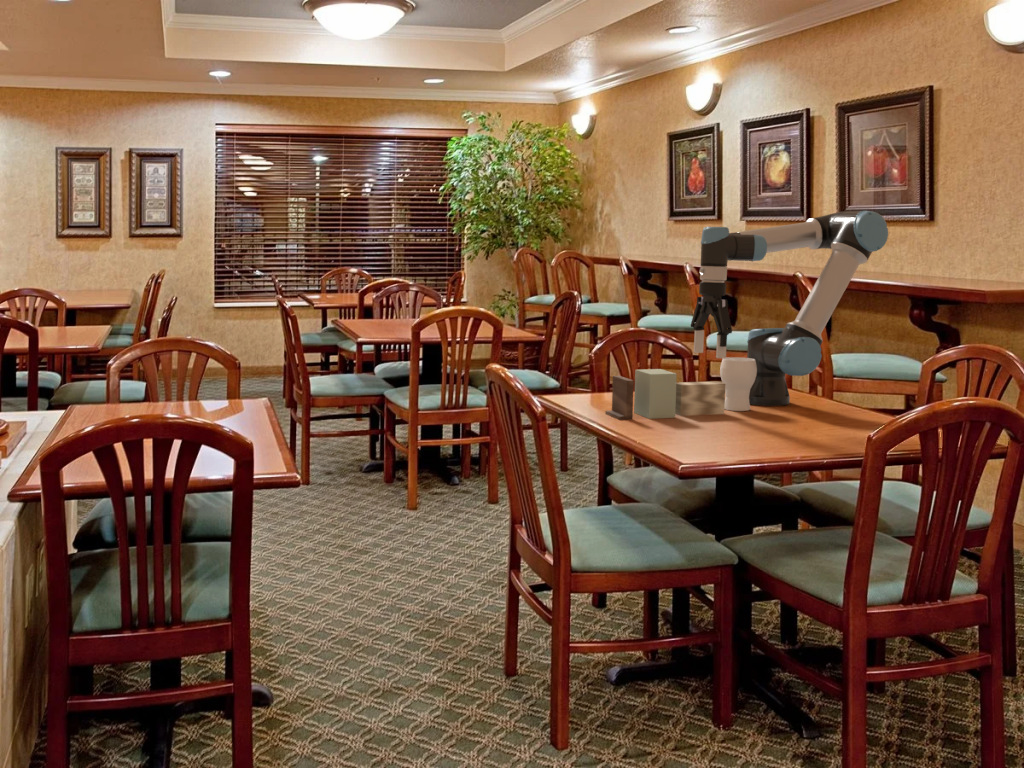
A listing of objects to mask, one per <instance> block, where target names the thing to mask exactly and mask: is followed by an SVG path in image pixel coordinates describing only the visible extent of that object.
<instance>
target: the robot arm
mask: <svg viewBox="0 0 1024 768" xmlns="http://www.w3.org/2000/svg"><path fill="white" fill-rule="evenodd" d="M888 237H889V229H888V224H887V222H886V220H885V218H884V217H883V215H881V214H880V213H878V212H876V211H872V210H871V211H870V210H860V211H858V210H857V211H837V212H833V213H830V214H825V215H821V216H817V217H812V218H807V220H806V221H805V222H799V223H791V224H784V225H779V226H778V225H777V226H772V227H771V226H770V227H769V226H768V227H764V228H757V229H749V230H743V231H737V232H730V229H729V228H728V227H727V226H704V227H703V229H702V233H701V240H700V268H699V279H700V280H701V281H700V282H699V288H698V293H699V295H701V296H697V299H696V305H695V309H694V313H693V314H692V315H693V316H692V319H691V323H690V327H691V328H693V330H694V340H693V353H695V354H698V353H699V354H700V353H701V354H703V353H704V346H705V345H704V343H705V341H704V340H705V339H704V338H705V325H706V323H707V321H708V318H709V317H710V315H711V317H713V320H714V323H715V326H716V329H717V333H716V351H715V352H716V353H715V358H716V359H723V358H727V346H728V344H727V341H728V336H729V334H732V333H733V329H732V323H731V318H730V312H729V308H728V307H729V306H728V305H729V304H728V299H722V297H723V296H726V293H727V283H726V282H725V281H727V280H728V279H727V275H728V261H731V262H732V261H733V262H734V261H736V262H738V261H739V262H740V261H741V262H758V261H762V260H764V258H765V257H766V255H767V254H770V253H775V252H782V251H790V250H796V249H804V248H809V249H811V250H818V249H820V250H821V249H827V250H832V251H831V254H830V256H829V258H828V260H827V262H826V263H825V265H824V266H823V268H822V270H821V272H820V273H819V276H818V278H817V280H816V281H815V283H814V284H813V287H812V288H811V290H810V292H809V294H808V296H807V298H806V299H805V301H804V303H803V304H802V306H801V309H800V310H799V312H798V314H797V315H796V317H795V320H793V321H791V322H790V321H789V322H787V323H786V325H785V326H784V327H783V328H782V327H781V328H780V327H776V328H775V327H773V328H771V327H770V328H769V327H768V328H753V329H751V330H750V331H749V332H748V335H747V341H746V342H747V352H746V353H747V355H746V358H751V359H755V361H756V366H757V375H756V378H755V381H754V383H753V385H752V387H751V389H750V394H749V403H750V405H753V406H755V405H756V406H762V407H763V406H765V407H767V406H769V407H775V406H776V407H777V406H786V405H789V404H790V401H791V400H790V399H791V396H790V392H789V387H788V385H787V381H786V375H788V376H793V377H795V376H797V377H802V376H807V375H809V374H811V373H812V372H814V371H815V370H817V368H818V366H819V365H820V363H821V360H822V355H823V354H822V348H821V346H822V344H823V341H824V340H823V337H822V334H823V331H824V329H825V327H826V326H827V323H828V322H829V320H830V318H831V317H832V315H833V313H834V311H835V309H836V308H837V306H838V305H839V302H840V300H841V299H842V297H843V295H844V292H845V291H846V289H847V288H848V286H849V284H850V282H851V280H852V278H853V277H854V275H855V273H856V271H857V270H858V268H859V266H861V265H862V264H866V263H867V262H868V260H869V259H870V257H871V255H872V253H873V252H877V251H879V250H881V249H882V248H883V247H884V246H885V245H886V243H887V241H888V239H889V238H888Z"/></svg>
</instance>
